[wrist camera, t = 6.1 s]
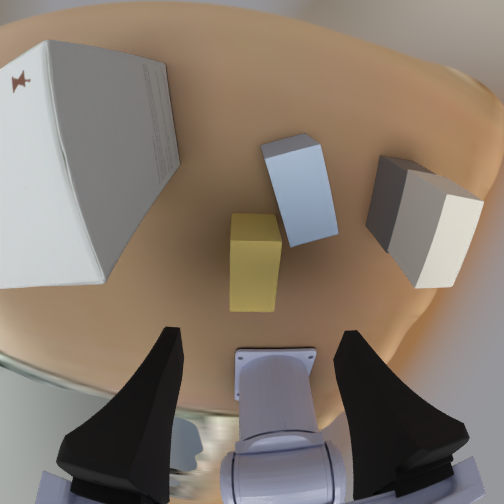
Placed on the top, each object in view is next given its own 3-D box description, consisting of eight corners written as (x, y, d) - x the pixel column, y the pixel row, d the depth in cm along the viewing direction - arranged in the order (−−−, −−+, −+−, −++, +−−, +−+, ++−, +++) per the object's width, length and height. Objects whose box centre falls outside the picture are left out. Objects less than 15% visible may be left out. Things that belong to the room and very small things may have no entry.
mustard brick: (268, 277, 24) (273, 312, 20) (230, 277, 23) (229, 311, 20) (275, 213, 21) (282, 241, 17) (231, 212, 20) (230, 240, 17)
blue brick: (322, 207, 21) (338, 233, 17) (282, 218, 21) (290, 247, 17) (304, 133, 18) (320, 144, 14) (260, 145, 18) (264, 158, 15)
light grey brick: (422, 252, 18) (452, 286, 14) (387, 250, 18) (414, 288, 14) (444, 176, 15) (484, 201, 12) (408, 169, 15) (446, 194, 11)
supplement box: (69, 90, 15) (-79, 127, 4) (168, 61, 15) (50, 29, 4) (87, 186, 19) (-24, 293, 8) (182, 169, 19) (109, 290, 8)
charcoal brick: (398, 227, 21) (421, 254, 18) (365, 225, 21) (386, 253, 18) (413, 161, 19) (444, 178, 15) (379, 155, 18) (407, 171, 15)
